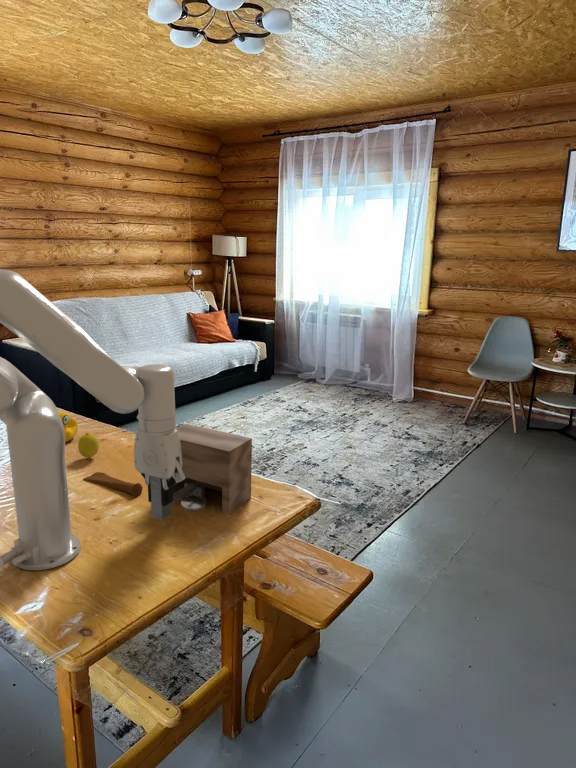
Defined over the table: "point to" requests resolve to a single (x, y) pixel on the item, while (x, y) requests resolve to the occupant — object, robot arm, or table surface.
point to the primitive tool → (115, 483)
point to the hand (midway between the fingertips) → (160, 500)
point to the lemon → (88, 445)
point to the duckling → (69, 426)
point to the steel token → (193, 503)
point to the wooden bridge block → (217, 463)
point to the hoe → (165, 511)
